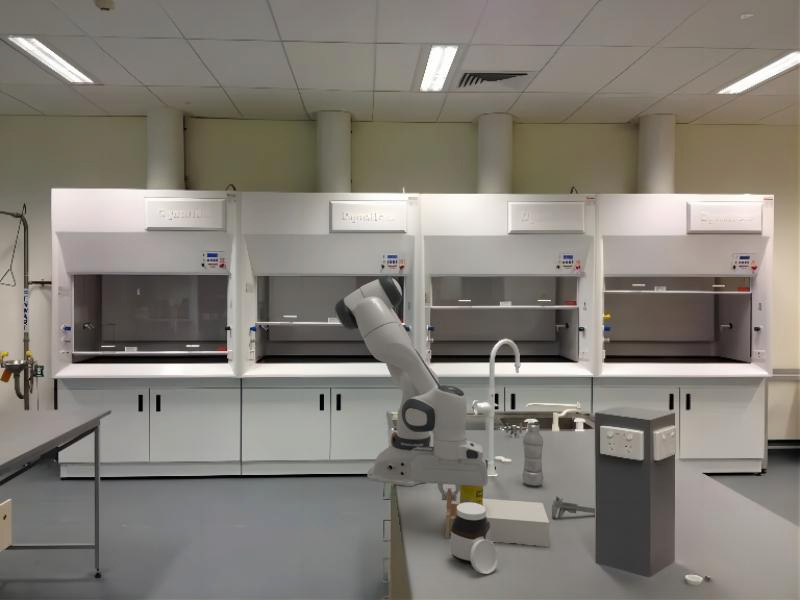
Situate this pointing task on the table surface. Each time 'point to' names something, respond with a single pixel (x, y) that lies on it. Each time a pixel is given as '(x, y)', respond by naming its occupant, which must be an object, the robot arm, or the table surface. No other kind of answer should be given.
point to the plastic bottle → (533, 456)
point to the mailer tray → (450, 512)
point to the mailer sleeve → (517, 522)
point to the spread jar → (473, 538)
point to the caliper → (568, 507)
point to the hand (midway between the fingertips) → (449, 499)
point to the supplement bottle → (471, 494)
